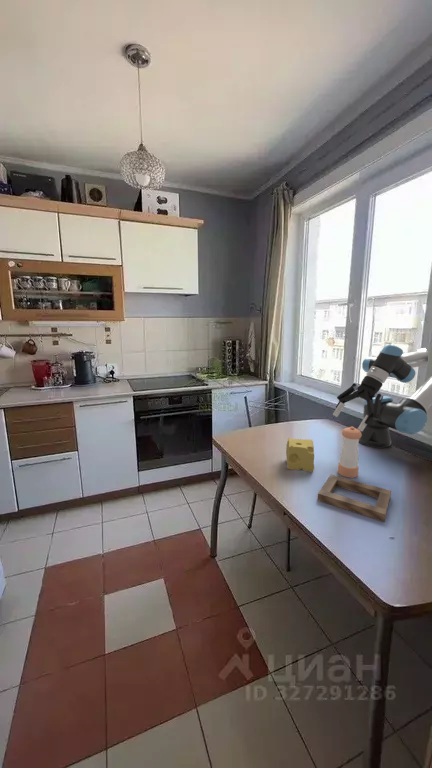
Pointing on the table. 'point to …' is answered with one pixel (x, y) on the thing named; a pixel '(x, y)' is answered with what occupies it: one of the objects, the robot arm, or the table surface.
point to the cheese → (300, 454)
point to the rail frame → (351, 504)
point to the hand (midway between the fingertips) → (346, 422)
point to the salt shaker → (349, 453)
